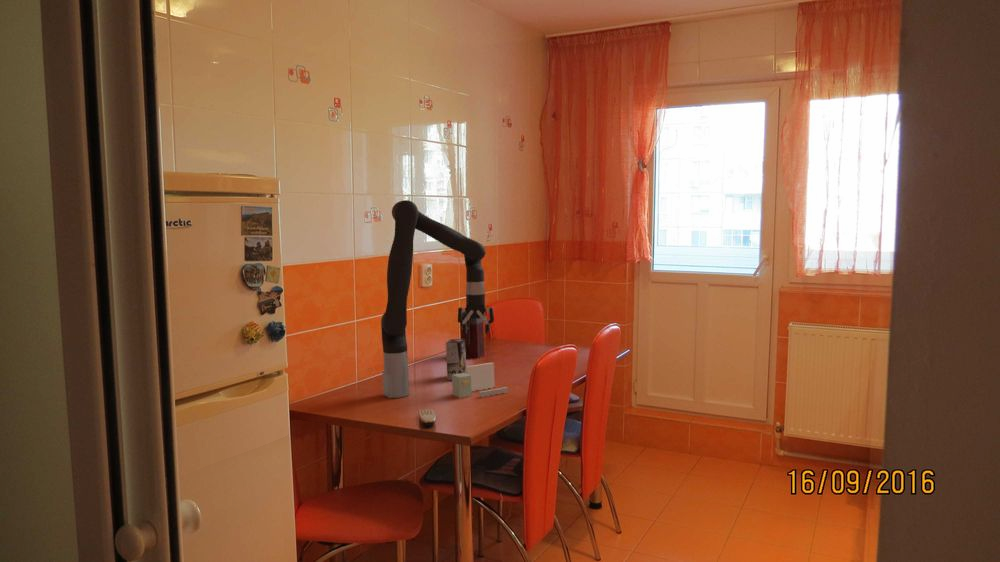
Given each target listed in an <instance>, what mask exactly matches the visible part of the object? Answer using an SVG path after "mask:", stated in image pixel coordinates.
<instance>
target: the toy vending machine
mask: <svg viewBox="0 0 1000 562" xmlns="http://www.w3.org/2000/svg"><path fill="white" fill-rule="evenodd" d="M467 315H468V314H467V313H466V311H464V312H463V313H462V320H464V319H465V318H466V316H467ZM466 324H467V333H466V334H464V332H463V325H462V323H459V326H460V327H459V328H460V330H459V331H460V339H465V352H466V358H479V359H481V358H483V357H484V356H485V335H484V334H485V333H484V332H485V331H484V330H485V328H484V321H483V320H482V318H479V319H477V318H474V319H472V318H469V320H468V321H467V322H466ZM483 355H484V356H483ZM482 356H483V357H482ZM480 357H481V358H480Z"/></svg>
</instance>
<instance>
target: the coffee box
mask: <svg viewBox="0 0 1000 562" xmlns="http://www.w3.org/2000/svg"><path fill="white" fill-rule="evenodd" d="M445 347H446V349H445V350H446V351H445V353H446V375H447V376H446V379H447V381H452V375H453V374H459V373H466V366H467V359H466V352H465V339H461V338H456V339H455V338H452V339H450V340H448V341H446V342H445Z"/></svg>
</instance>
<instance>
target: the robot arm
mask: <svg viewBox="0 0 1000 562" xmlns="http://www.w3.org/2000/svg"><path fill="white" fill-rule="evenodd" d="M391 215H392V218H393V220H394V235H393V236H394V237H393V240H392V244H391V248H390V251H389V255H388V260H387V270H386V287H387V302H386V308H385V312H384V313H383V314H382V316H381V319H380V324H381V325H380V326H381V327H380V329H381V341H382V342H381V344H382V353H383V371H382V372H381V375H382V390H383V391H382V393H383V396H384V397H386V398H388V399H394V398H395V399H396V398H397V399H398V398H404V397H407V396H409V395H410V382H409V381H410V380H409V361H408V360H409V359H408V358H409V357H408V356H409V355H408V342H407V334H406V332H407V331H406V328H407V326H408V319H407V317H408V316H407V314H408V313H407V308H408V307H407V306H408V295H409V291H410V285H411V278H412V272H413V260H414V236H415V231H416V230H417V231H420V232H421V233H423V234H425V235H427V236H428V237H430V238H432V239H434V240H436V241H437V242H439V243H441V244H442V245H444V246H446V247H447V248H449V249H451V250H453V251H456V252H459V253H461V254H463V256H464V257H463V259H464V263H465V265H464V266H465V269H466V272H465V273H466V274H465V277H466V279H465V280H466V283H465V296H466V297H465V304H466V305H465V307H461V306H460V307H458V308H457V322H458V323H459V324H460V323H462V325H463V332H464V334H466V333H467V324H466V322H467V321H468V320H469V318H472V319H474V318H477V319H479V318H482V320H483V323H485V326H484V330H485V331H484V332H485V333H484V334H485V335H488V334H489V333H490V324H492V323H494V322H495V316H494V315H495V314H494V308H493V307H492V306H491V307H486V285H485V271H484V268H483V265H482V260H483V258H484V257H485V256H486V248H485V246H484V245H483V244H482V243H481V242H478V241H477V240H475V239H472V238H470V237H468V236H466V235H463V234H462V233H461V232H459V231H457V230H455V229H454V228H452V227H450V226H448V225H446V224H444V223H442V222H439V221H437V220H434V219H432V218H430V217H428V216H427V215H425V214H424V213H422V212H421V211H419V209H418V206H417V205H416V203H414V202H413V201H411V200H408V199H407V200H406V199H405V200H400V201H397V202H396V203H395V204H393V206H392V208H391ZM464 311H466V313H467V314H468V315H467V316H466V318H465V319H464V320H462V313H463V312H464ZM486 312H487V314H489V319H488V317H487V315H486V314H485V313H486Z"/></svg>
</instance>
